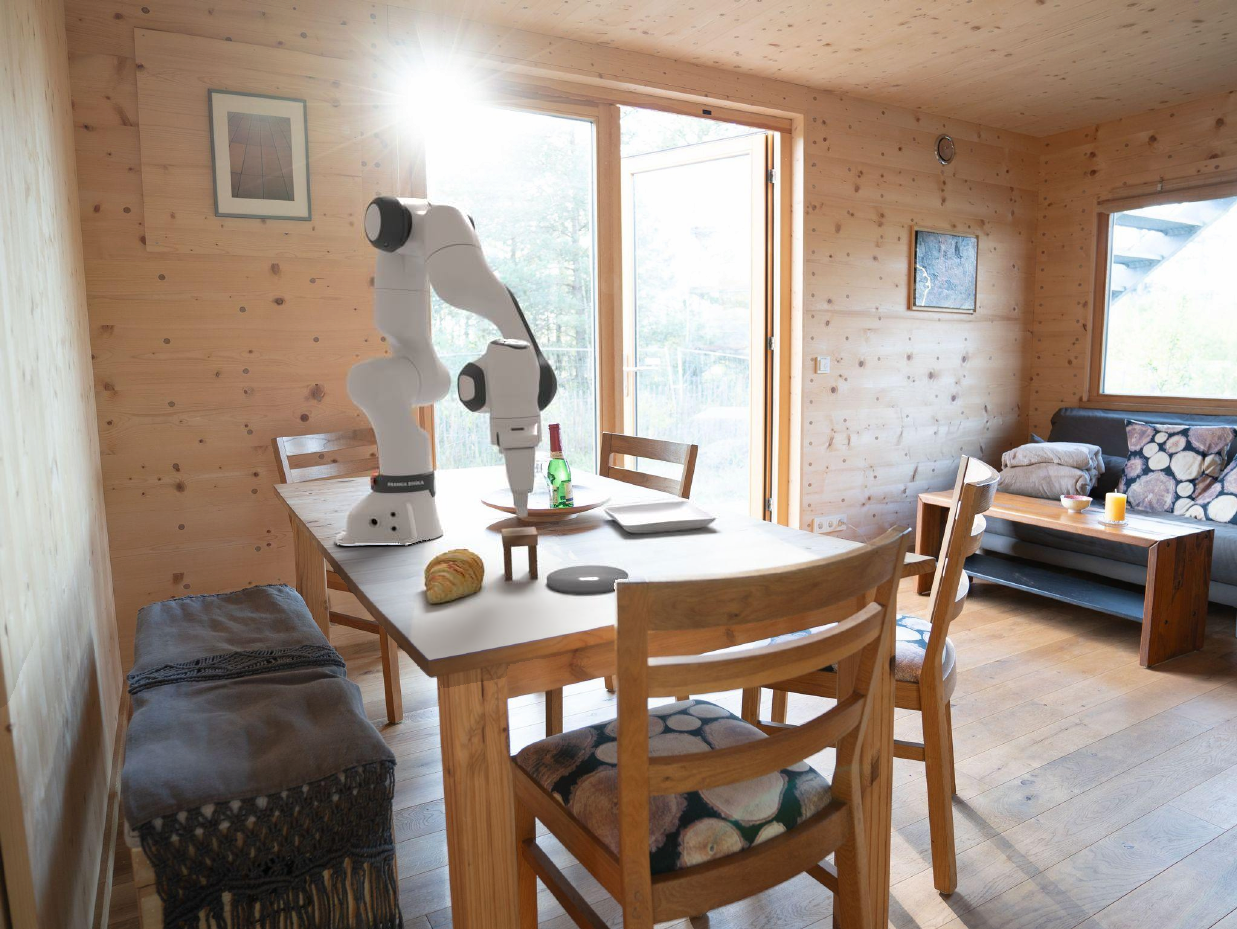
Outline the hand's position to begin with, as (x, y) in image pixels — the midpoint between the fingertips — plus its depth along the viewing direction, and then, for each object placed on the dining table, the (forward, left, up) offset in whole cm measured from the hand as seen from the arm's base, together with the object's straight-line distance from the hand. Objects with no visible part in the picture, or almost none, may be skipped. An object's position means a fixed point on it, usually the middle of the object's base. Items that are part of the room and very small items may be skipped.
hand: (520, 511), depth 142 cm
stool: (0, 0, -12) cm, 12 cm away
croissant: (-12, -5, -12) cm, 18 cm away
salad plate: (+33, +35, -12) cm, 50 cm away
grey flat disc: (+11, -7, -12) cm, 17 cm away
